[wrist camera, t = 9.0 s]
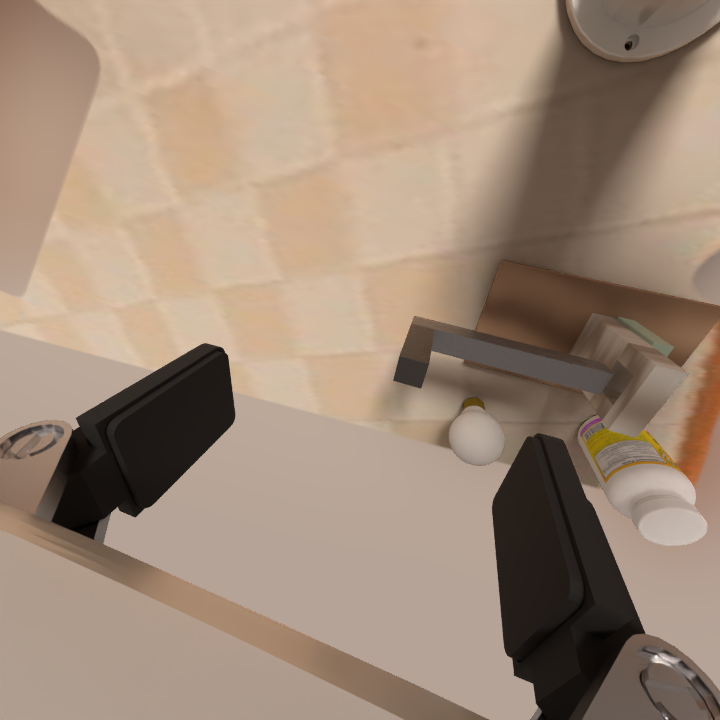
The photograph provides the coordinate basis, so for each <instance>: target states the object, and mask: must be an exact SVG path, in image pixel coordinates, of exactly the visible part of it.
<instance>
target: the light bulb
mask: <svg viewBox="0 0 720 720" xmlns="http://www.w3.org/2000/svg"><path fill="white" fill-rule="evenodd" d="M449 442H450V446H451V448H452V450H453V452H454V453H455V454H456V455H457V456H458V457H459V458H460V459H461V460H462V461H464V462H466V463H469V464H472V465H477V466H482V465H487V464H490V463H492V462H494V461H495V460H496V459H498V458H499V456H500V455H501V454H502V452H503V450H504V446H505V435H504V432H503V429H502V427H501V425H500V424H499V423H498V421H497V420H496V419H494V418H493V417H492V416H490V415H489V414H487V412H486V411H485V407H484V403H483V402H482V401H481V400H480V399H478V398H468V399H466V400H465V401H464V403H463V409H462V413H461V415H459V416H458V417H457V418H456V419H455V420H454V421H453V422H452V424H451V426H450V429H449Z"/></svg>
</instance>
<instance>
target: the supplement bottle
mask: <svg viewBox="0 0 720 720" xmlns="http://www.w3.org/2000/svg"><path fill="white" fill-rule="evenodd" d="M578 441H579V444H580V446H581V448H582V450H583V452H584V454H585V456H586V458H587V460H588V462H589V463H590V465H591V467H592V469H593V471H594V473H595V475H596V477H597V479H598V481H599V483H600V485H601V487H602V489H603V491H604V493H605V494H606V496H607V498H608V500H609V502H610V504H611V505H612V506H613V507H614V508H615V509H616V510H617V511H618V512H620V513H621V514H623V515H624V516H626V517H628V518H630V519H632V521H633V523H634V525H635V526H636V528H637V530H638V531H639V533H640V534H641V535H642V536H643V537H644V538H645V539H647V540H649V541H651V542H654V543H656V544H660V545H668V546H676V545H685V544H689V543H692V542H695V541H697V540H699V539H700V538H702V537H703V536H704V535H705V533H706V531H707V523H706V521H705V519H704V518H703V517H702V515H701V514H700V513H699V511H698V510H697V509H696V508H695V507H694V503H695V500H696V493H695V489H694V487H693V485H692V483H691V482H690V481H689V479H688V478H687V477H686V476H685V474H684V473H683V472H682V471H681V470H680V469H679V468H678V466H677V465H676V464H675V463H674V462H673V460H672V459H671V458H670V457H669V456H668V455H667V453H666V452H665V451H664V450H663V449H662V447H661V446H660V445H659V444H658V443H657V442H656V440H655V439H654V438H653V437H652V436H651V434H650V433H649V432H648V431H647V430H646V429H645V428H644V429H643V430H642V431H641V433H640V434H639V435H638V436H637V437H636V438H634V437H631V436H627V435H624V434H620V433H617V432H613V431H609V430H608V429H607V428H606V426H605V425H604V423H603V422H602V420H601V419H600V417H599V416H598V415H596V416H593V417H591V418H590V419H588V420H587V421H585V422H584V423H583V424H582V426H581V427H580V429H579V432H578Z"/></svg>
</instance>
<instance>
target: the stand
mask: <svg viewBox="0 0 720 720" xmlns="http://www.w3.org/2000/svg"><path fill="white" fill-rule="evenodd" d="M618 317H622V318H626V319H630V320H635V321H636V322H638V323H639V324H641V325H642V326H644V327H645V328H647V329H648V330H650V331H651V332H653V333H654V334H656V335H657V336H659V337H660V338H662V339H663V340H665V341H666V342H668V343H669V344H671V345H672V346H674V348H673V350H672V351H671V352H670V354H669V355H668V356H667V357H666V356H665V355H663V354H662V353H661V352H659V351H658V350H657V349H655V348H654V347H653V346H651V345H650V344H649V343H647V342H646V341H644V340H643V339H642V338H640V337H639V336H638V335H636V334H635V333H634V332H632V331H631V330H630V329H628V328H627V327H625V326H624V325H623V324H621V323H620V322H619V321H617V320H616V319H617V318H618ZM719 319H720V306H718V305H713V304H709V303H704V302H699V301H694V300H689V299H685V298H680V297H675V296H670V295H665V294H661V293H656V292H651V291H646V290H641V289H637V288H632V287H627V286H622V285H617V284H613V283H608V282H603V281H598V280H593V279H589V278H584V277H579V276H574V275H569V274H565V273H560V272H555V271H550V270H545V269H541V268H536V267H531V266H526V265H521V264H517V263H512V262H507V261H502V260H501V263H500V266H499V268H498V271H497V273H496V276H495V279H494V281H493V284H492V287H491V289H490V292H489V295H488V297H487V300H486V303H485V305H484V308H483V311H482V313H481V316H480V319H479V321H478V324H477V327H476V329H475V331H477V332H481V333H485V334H489V335H493V336H497V337H501V338H506V339H510V340H514V341H518V342H522V343H526V344H530V345H534V346H538V347H542V348H546V349H550V350H554V351H558V352H562V353H566V354H570V355H574V356H578V357H582V358H586V359H590V360H594V361H598V362H602V363H604V364H605V365H606V366H607V367H608V368H609V369H610V370H611V371H612V373H613V374H614V376H613V377H612V379H611V380H610V381H609V383H608V384H607V386H606V387H605V389H604V390H603V392H602V393H601V395H598V394H594V393H590V392H586V391H582V390H579V389H575V388H571V387H567V386H563V385H560V384H556V383H552V382H548V381H545V380H541V379H537V378H533V377H529V376H526V375H522V374H518V373H514V372H510V371H507V370H503V369H499V368H495V367H492V366H488V365H484V364H480V363H476V362H473V361H469V360H465V359H464V362H465V363H468V364H472V365H476V366H480V367H483V368H487V369H491V370H495V371H498V372H502V373H506V374H510V375H514V376H517V377H521V378H525V379H529V380H532V381H536V382H540V383H544V384H547V385H551V386H555V387H559V388H562V389H566V390H570V391H574V392H578V393H581V394H584V395H585V396H586V398H587V399H588V401H589V402H590V404H591V405H592V407H593V408H594V410H595V411H596V413H597V414H598V416H599V417H600V419H601V420H602V422H603V423H604V425H605V426H606V428H607V429H608V430H609V431H613V432H617V433H620V434H624V435H627V436H631V437H634V438H636V437H637V436H638V435H639V434H640V433H641V431H642V430H643V429H644V428H645V426H646V425H647V424H648V423H649V422H650V420H651V419H652V418H653V417H654V415H655V414H656V413H657V412H658V411H659V409H660V408H661V407H662V406H663V404H664V403H665V402H666V401H667V400H668V398H669V397H670V396H671V395H672V393H673V392H674V391H675V390H676V389H677V387H678V386H679V385H680V384H681V382H682V381H683V380H684V379H685V378H686V376H687V375H688V374H689V373H688V372H686V371H685V370H684V369H682V368H681V367H682V365H683V364H684V363H685V362H686V360H687V359H688V358H689V357H690V355H691V354H692V353H693V351H694V350H695V349H696V348H697V346H698V345H699V344H700V343H701V341H702V340H703V339H704V338H705V336H706V335H707V334H708V333H709V331H710V330H711V329H712V328H713V326H714V325H715V324H716V323H717V321H718V320H719Z"/></svg>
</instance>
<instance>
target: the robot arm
mask: <svg viewBox="0 0 720 720" xmlns="http://www.w3.org/2000/svg"><path fill="white" fill-rule="evenodd" d="M565 1H566V8H567V14H568V17H569V20H570V23H571V25H572V28H573V30H574V32H575V33H576V35H577V36H578V38H579V39H580V41H581V43H582V44H583V45H585V46H586V47H587V48H588V49H589V50H590V51H592V52H593V53H594V54H596V55H598V56H601V57H603V58H605V59H607V60H612V61H619V62H637V61H645V60H649V59H652V58H656V57H660V56H663V55H665V54H667V53H670V52H672V51H674V50H676V49H678V48H681V47H683V46H685V45H686V44H688V43H689V42H691V41H693V40H694V39H696V38H697V37H699V36H701V35H702V34H704V33H705V32H706V31H708V30H709V29H711V28H712V27H713V26H715V25H716V24H717V23H719V22H720V0H565ZM625 44H629V46H630V48H629V50H628V51H627V50H625V47H624V45H625ZM76 420H77V422H78V424H79V426H80V427H79V428H77V429H76V430H74V431H73V429H72V427H71V425H70V424H69V423H67V422H65V421H59V420H47V421H40V422H36V423H31V424H29V425H26V426H23V427H20V428H18V429H16V430H14V431H11V432H9V433H7V434H6V435H4V436H3V437H1V438H0V720H488V719H486V718H484V717H482V716H480V715H478V714H476V713H474V712H472V711H469V710H467V709H465V708H463V707H461V706H459V705H457V704H455V703H453V702H451V701H449V700H447V699H444V698H442V697H440V696H438V695H436V694H434V693H432V692H430V691H428V690H425V689H424V688H421V687H419V686H417V685H415V684H413V683H411V682H408V681H406V680H404V679H402V678H399V677H397V676H395V675H393V674H391V673H389V672H386V671H384V670H382V669H380V668H378V667H375V666H373V665H371V664H369V663H367V662H364V661H362V660H360V659H358V658H355V657H353V656H351V655H349V654H347V653H344V652H342V651H340V650H338V649H336V648H334V647H331V646H329V645H327V644H325V643H323V642H320V641H318V640H316V639H313V638H311V637H309V636H307V635H305V634H303V633H301V632H298V631H296V630H294V629H292V628H290V627H287V626H285V625H282V624H281V623H278V622H276V621H274V620H272V619H269V618H267V617H265V616H263V615H261V614H258V613H256V612H254V611H252V610H249V609H247V608H245V607H243V606H241V605H238V604H236V603H234V602H232V601H229V600H227V599H225V598H222V597H221V596H218V595H216V594H214V593H212V592H209V591H207V590H205V589H202V588H200V587H198V586H196V585H193V584H192V583H189V582H187V581H185V580H183V579H180V578H178V577H176V576H174V575H171V574H169V573H167V572H165V571H162V570H160V569H158V568H156V567H153V566H151V565H149V564H147V563H144V562H142V561H139V560H137V559H135V558H133V557H131V556H128V555H126V554H124V553H121V552H119V551H117V550H115V549H113V548H110V547H108V546H106V545H104V544H103V542H104V538H105V534H106V530H107V526H108V522H109V518H110V514H111V512H112V511H113V510H115V509H116V508H117V507H118V508H119V510H120V511H121V512H124V513H126V514H128V515H131V516H133V517H137V515H138V514H139V513H141V512H142V511H143V509H145V508H148V507H150V506H152V505H153V504H154V503H155V502H156V501H157V500H158V499H159V498H160V497H161V496H162V495H163V494H164V493H165V492H166V491H167V490H168V489H169V488H170V487H171V486H172V485H173V484H174V483H175V482H176V481H177V480H178V479H179V478H180V477H181V476H182V475H183V474H184V473H185V472H186V471H187V470H188V469H189V468H190V467H191V466H192V465H193V464H194V463H195V462H196V461H197V460H198V459H199V458H200V457H201V456H202V455H203V454H204V453H205V452H206V451H207V450H208V449H209V448H210V447H211V446H212V445H213V444H214V443H215V442H216V441H217V440H218V439H219V438H220V437H221V435H223V434H224V433H225V432H226V431H227V430H228V428H229V427H230V426H231V425H232V424H233V422H234V420H235V408H234V400H233V392H232V384H231V376H230V368H229V359H228V355H227V354H226V353H225V351H224V349H223V348H221V347H218V346H214V345H211V344H207V343H204V344H201V345H199V346H198V347H196V348H194V349H193V350H191V351H189V352H187V353H186V354H184V355H182V356H181V357H179V358H177V359H176V360H174V361H172V362H170V363H169V364H167V365H165V366H164V367H162V368H160V369H158V370H157V371H155V372H153V373H152V374H150V375H148V376H147V377H145V378H143V379H142V380H140V381H138V382H136V383H135V384H133V385H131V386H130V387H128V388H126V389H124V390H123V391H121V392H119V393H117V394H116V395H114V396H112V397H111V398H109V399H107V400H106V401H104V402H102V403H100V404H99V405H97V406H95V407H94V408H92V409H90V410H88V411H87V412H85V413H83V414H82V415H80V416H78V417H77V418H76ZM492 514H493V525H494V537H495V548H496V560H497V571H498V582H499V594H500V605H501V617H502V627H503V640H504V648H505V652H506V654H507V656H509V657H511V658H512V659H513V667H514V676H517V677H519V678H521V679H524V680H526V681H529V682H531V683H533V685H534V691H535V698H536V704H537V705H538V709H537V711H536V712H535V713H534V715H533V716H532V718H531V719H530V720H720V691H719V690H718V688H717V687H716V686H715V684H714V683H713V682H712V681H711V679H710V678H709V677H708V676H707V675H706V674H705V673H704V672H703V671H702V670H701V669H700V668H699V667H698V666H697V665H696V664H695V663H694V662H693V661H692V660H691V659H690V658H689V657H687V656H686V655H685V654H684V653H682V652H681V651H680V650H678V649H677V648H676V647H675V646H672V645H671V644H669V643H667V642H666V641H663V640H662V639H660V638H658V637H655V636H651V635H647V634H645V631H644V629H643V627H642V624H641V622H640V619H639V617H638V614H637V612H636V610H635V607H634V604H633V602H632V600H631V598H630V595H629V592H628V590H627V587H626V585H625V582H624V580H623V578H622V575H621V573H620V570H619V568H618V565H617V563H616V561H615V558H614V556H613V553H612V551H611V548H610V546H609V543H608V541H607V539H606V536H605V534H604V531H603V529H602V526H601V524H600V522H599V519H598V516H597V514H596V511H595V509H594V507H593V506H592V504H591V503H590V502H589V501H588V500H587V498H586V496H585V494H584V491H583V488H582V486H581V483H580V481H579V478H578V475H577V473H576V470H575V468H574V465H573V463H572V460H571V458H570V455H569V453H568V450H567V448H566V445H565V443H564V441H563V440H561V439H558V438H555V437H551V436H547V435H544V434H540V433H538V434H536V435H535V436H534V437H530V436H529V437H527V438H526V440H525V442H524V444H523V445H522V447H521V449H520V451H519V453H518V455H517V456H516V458H515V460H514V462H513V464H512V466H511V468H510V469H509V471H508V473H507V475H506V477H505V479H504V480H503V483H502V484H501V486H500V488H499V490H498V492H497V493H496V495H495V497H494V500H493V505H492Z"/></svg>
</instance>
